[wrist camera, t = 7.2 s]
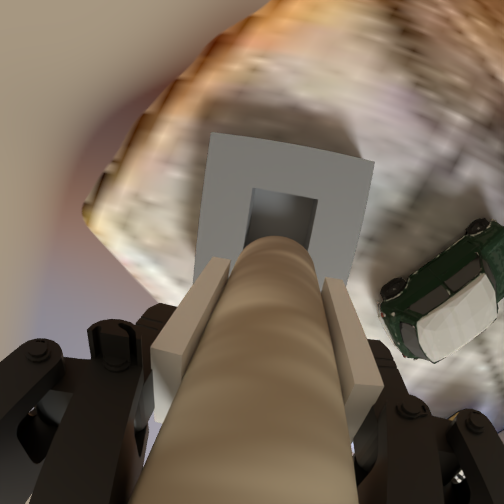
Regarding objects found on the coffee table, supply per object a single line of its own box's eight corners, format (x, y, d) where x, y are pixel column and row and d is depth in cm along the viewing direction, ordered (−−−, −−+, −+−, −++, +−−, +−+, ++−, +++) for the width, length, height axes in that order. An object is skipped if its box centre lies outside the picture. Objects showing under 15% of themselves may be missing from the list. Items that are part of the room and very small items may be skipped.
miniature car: (504, 269, 29) (541, 294, 21) (395, 348, 33) (415, 390, 26) (486, 209, 27) (528, 225, 20) (365, 295, 32) (384, 334, 24)
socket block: (363, 161, 27) (374, 161, 24) (333, 293, 32) (338, 310, 28) (220, 135, 28) (211, 132, 24) (203, 269, 33) (192, 284, 29)
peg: (323, 244, 15) (421, 582, 1) (305, 316, 16) (315, 611, 2) (240, 228, 15) (62, 544, 1) (229, 303, 16) (125, 583, 3)
